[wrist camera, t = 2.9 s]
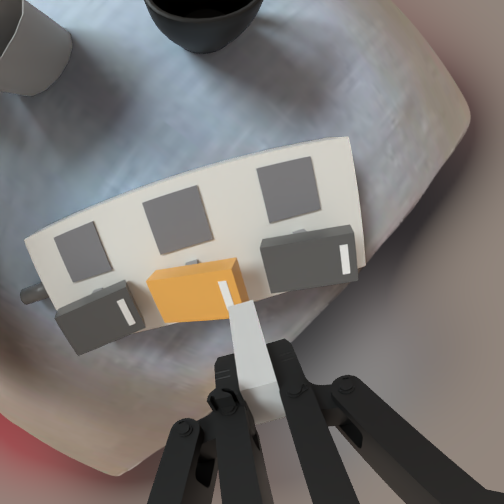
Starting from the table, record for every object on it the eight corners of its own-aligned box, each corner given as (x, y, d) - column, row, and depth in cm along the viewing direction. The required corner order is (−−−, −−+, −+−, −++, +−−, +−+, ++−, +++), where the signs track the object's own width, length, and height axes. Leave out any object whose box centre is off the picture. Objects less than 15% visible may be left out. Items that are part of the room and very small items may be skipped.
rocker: (272, 282, 24) (270, 294, 22) (262, 239, 22) (259, 248, 21) (354, 269, 22) (358, 281, 21) (349, 224, 21) (354, 232, 19)
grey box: (79, 345, 21) (77, 356, 19) (58, 308, 19) (54, 318, 18) (143, 317, 23) (145, 328, 22) (125, 279, 22) (125, 287, 20)
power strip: (55, 330, 27) (38, 357, 22) (12, 243, 23) (-14, 261, 18) (345, 249, 29) (370, 269, 24) (327, 137, 25) (354, 136, 20)
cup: (86, 46, 18) (38, 10, 8) (35, 110, 19) (-27, 103, 10) (49, 17, 15) (4, -14, 5) (3, 75, 16) (-51, 64, 7)
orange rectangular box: (172, 310, 23) (164, 323, 22) (155, 270, 22) (145, 281, 20) (250, 302, 22) (246, 317, 20) (236, 257, 20) (231, 269, 19)
